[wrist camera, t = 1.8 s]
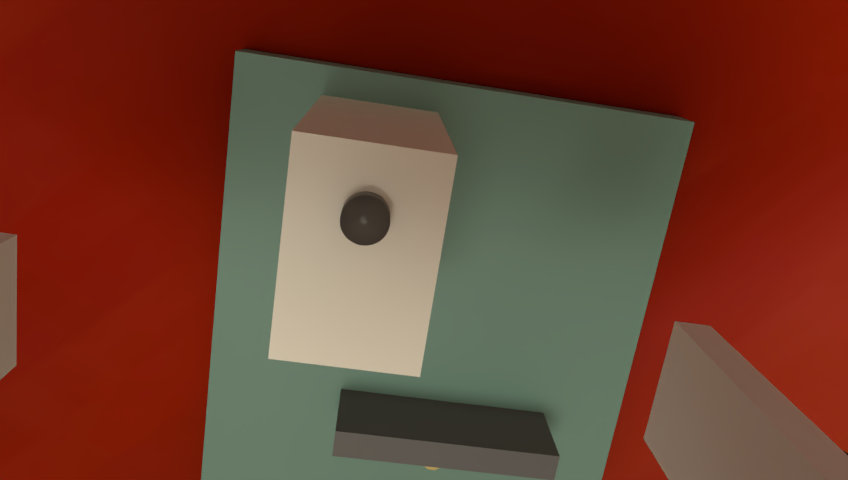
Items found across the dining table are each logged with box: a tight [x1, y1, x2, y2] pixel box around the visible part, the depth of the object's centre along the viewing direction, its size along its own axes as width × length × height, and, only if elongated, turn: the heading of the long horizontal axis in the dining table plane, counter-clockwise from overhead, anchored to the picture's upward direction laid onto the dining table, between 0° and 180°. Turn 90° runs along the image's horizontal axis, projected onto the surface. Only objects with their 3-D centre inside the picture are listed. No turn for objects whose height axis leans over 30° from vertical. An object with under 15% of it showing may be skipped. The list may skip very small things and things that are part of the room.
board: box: [201, 49, 695, 480], centre depth 28 cm, size 23×16×4 cm
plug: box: [268, 95, 458, 377], centre depth 22 cm, size 7×4×9 cm, turn 171°
